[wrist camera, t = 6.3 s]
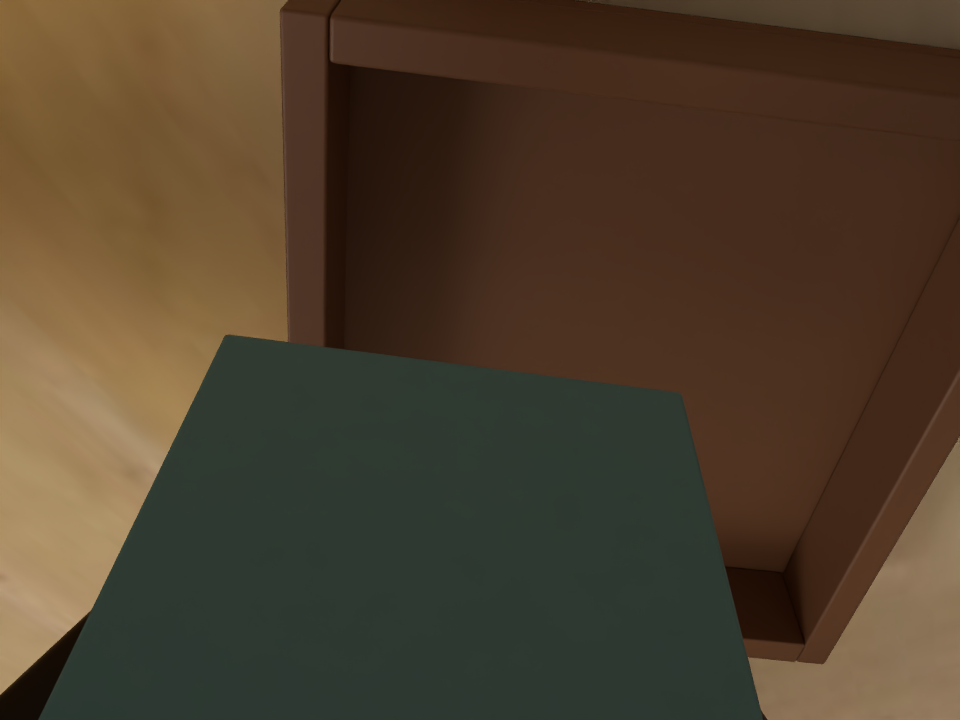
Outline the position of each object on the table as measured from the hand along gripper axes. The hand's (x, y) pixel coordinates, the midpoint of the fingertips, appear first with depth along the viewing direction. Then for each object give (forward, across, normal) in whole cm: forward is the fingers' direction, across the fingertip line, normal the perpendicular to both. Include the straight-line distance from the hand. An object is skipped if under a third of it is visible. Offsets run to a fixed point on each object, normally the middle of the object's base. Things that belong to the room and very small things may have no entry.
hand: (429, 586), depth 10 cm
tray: (+11, -4, +4) cm, 12 cm away
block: (+1, 0, 0) cm, 1 cm away
